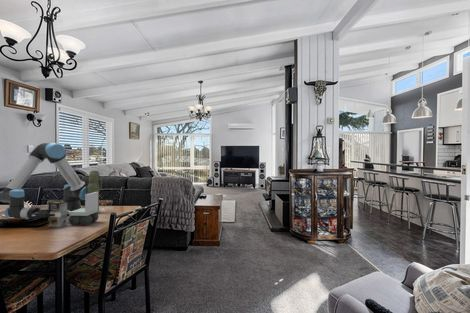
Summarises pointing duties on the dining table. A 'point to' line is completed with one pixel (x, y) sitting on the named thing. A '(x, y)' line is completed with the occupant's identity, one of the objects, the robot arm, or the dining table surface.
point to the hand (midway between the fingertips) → (64, 213)
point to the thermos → (94, 184)
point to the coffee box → (57, 208)
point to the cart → (86, 211)
